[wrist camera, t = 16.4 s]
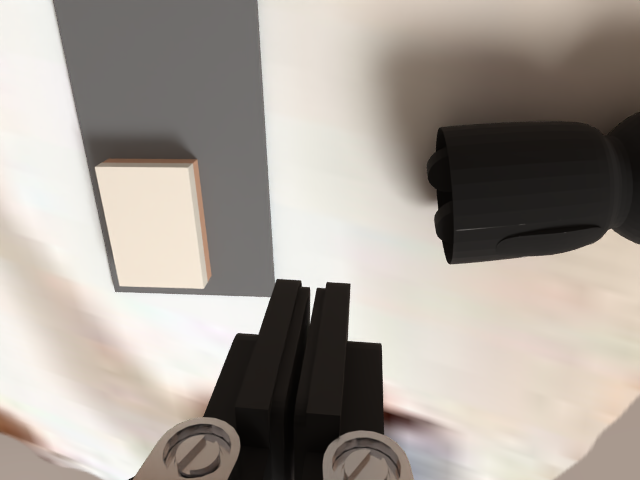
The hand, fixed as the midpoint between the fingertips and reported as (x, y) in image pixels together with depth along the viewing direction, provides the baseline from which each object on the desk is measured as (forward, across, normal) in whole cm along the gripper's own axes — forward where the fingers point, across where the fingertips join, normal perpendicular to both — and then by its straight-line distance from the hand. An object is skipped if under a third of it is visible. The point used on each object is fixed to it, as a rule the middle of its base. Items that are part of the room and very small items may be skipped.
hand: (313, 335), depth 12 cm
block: (+26, +11, +10) cm, 30 cm away
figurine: (+28, -16, +4) cm, 32 cm away
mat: (+27, +13, +4) cm, 31 cm away
